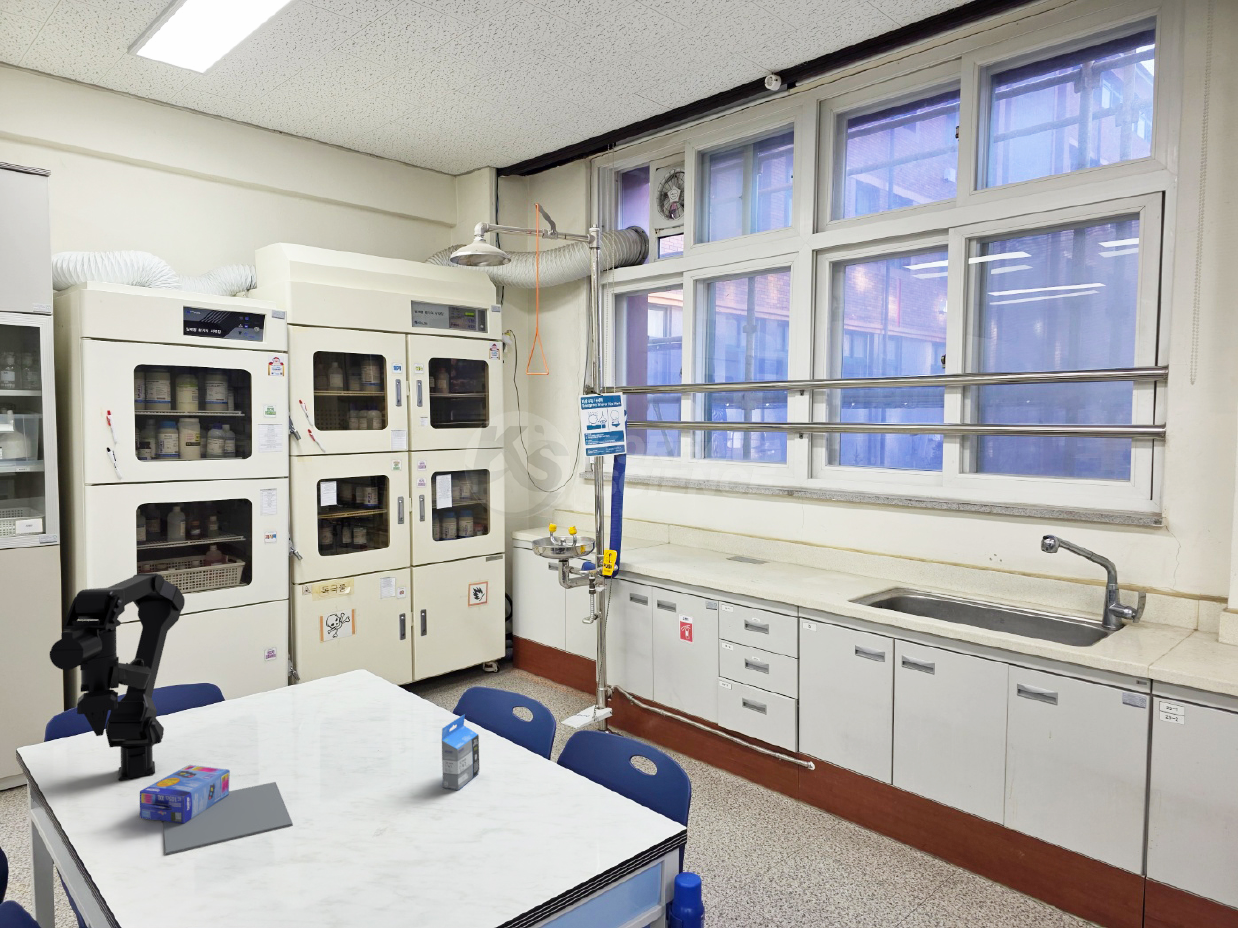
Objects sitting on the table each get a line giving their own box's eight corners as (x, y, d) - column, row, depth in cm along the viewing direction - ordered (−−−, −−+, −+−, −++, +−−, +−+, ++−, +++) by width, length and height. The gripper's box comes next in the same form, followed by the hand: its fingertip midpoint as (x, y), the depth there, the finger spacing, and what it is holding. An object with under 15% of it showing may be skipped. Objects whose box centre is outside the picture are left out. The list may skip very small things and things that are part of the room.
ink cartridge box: (230, 767, 154) (174, 802, 140) (231, 794, 154) (175, 832, 140) (186, 762, 156) (127, 796, 142) (187, 789, 156) (128, 826, 142)
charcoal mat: (162, 806, 150) (162, 804, 150) (275, 783, 160) (275, 781, 160) (165, 854, 133) (165, 852, 133) (292, 825, 143) (292, 823, 143)
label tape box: (458, 790, 158) (458, 730, 158) (440, 787, 159) (440, 727, 159) (480, 773, 166) (480, 715, 166) (463, 770, 168) (463, 713, 167)
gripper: (148, 660, 147) (149, 743, 148) (147, 638, 163) (147, 713, 164) (76, 669, 141) (77, 755, 142) (82, 645, 157) (83, 722, 158)
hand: (99, 735), depth 151 cm, fingers closed
